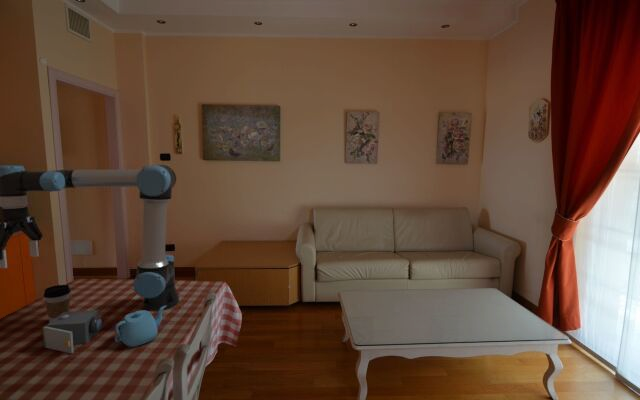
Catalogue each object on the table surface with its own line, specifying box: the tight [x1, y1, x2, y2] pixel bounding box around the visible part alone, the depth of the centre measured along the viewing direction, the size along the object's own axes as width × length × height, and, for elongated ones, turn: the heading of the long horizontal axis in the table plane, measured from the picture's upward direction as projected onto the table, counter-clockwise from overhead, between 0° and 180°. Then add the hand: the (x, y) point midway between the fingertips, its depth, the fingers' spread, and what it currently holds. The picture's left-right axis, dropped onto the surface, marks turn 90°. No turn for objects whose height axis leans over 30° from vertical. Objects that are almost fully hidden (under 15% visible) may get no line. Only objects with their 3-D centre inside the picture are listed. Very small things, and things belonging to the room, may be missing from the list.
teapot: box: [114, 305, 167, 348], centre depth 121 cm, size 13×11×18 cm
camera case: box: [46, 309, 103, 346], centre depth 120 cm, size 14×10×9 cm
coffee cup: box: [43, 284, 72, 323], centre depth 129 cm, size 8×8×15 cm
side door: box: [42, 325, 75, 354], centre depth 111 cm, size 12×2×8 cm, turn 76°
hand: (19, 261), depth 122 cm, fingers open, 13 cm apart
